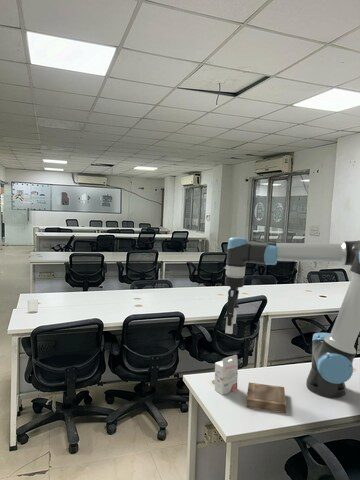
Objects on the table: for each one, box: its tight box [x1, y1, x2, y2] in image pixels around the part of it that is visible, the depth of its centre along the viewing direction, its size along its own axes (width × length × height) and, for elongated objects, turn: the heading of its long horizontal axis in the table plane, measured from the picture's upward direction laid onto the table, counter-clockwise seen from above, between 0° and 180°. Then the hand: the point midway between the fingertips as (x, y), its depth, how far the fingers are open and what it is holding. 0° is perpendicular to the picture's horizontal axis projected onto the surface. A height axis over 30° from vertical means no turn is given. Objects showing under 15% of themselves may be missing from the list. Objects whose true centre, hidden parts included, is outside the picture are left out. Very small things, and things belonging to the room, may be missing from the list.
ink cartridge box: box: [214, 354, 239, 396], centre depth 143 cm, size 9×5×15 cm, turn 126°
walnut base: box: [245, 382, 287, 414], centre depth 135 cm, size 14×14×3 cm
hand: (230, 328), depth 141 cm, fingers open, 13 cm apart
